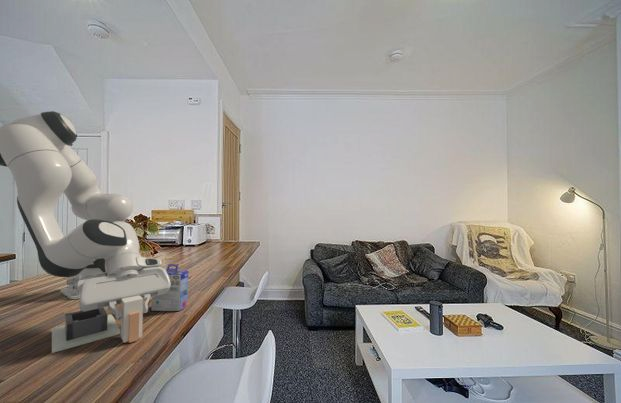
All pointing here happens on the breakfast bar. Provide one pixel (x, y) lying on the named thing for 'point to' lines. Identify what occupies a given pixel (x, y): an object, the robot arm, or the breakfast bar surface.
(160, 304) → the ink cartridge box
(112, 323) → the socket
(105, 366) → the breakfast bar surface
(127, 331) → the cream square peg
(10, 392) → the breakfast bar surface
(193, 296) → the breakfast bar surface
